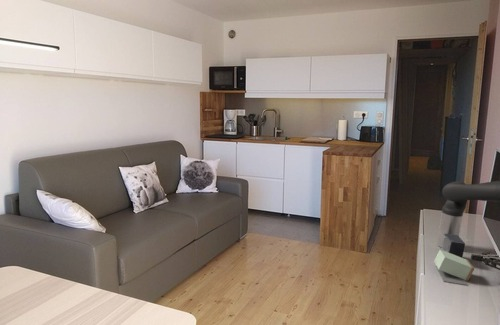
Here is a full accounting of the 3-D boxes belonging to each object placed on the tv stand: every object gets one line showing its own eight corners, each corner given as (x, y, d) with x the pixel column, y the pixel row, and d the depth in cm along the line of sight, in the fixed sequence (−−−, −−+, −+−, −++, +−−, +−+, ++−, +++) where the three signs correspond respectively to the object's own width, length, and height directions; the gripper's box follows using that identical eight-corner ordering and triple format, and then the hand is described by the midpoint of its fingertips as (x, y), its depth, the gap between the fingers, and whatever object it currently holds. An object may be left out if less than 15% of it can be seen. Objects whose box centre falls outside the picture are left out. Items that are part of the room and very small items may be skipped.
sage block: (461, 272, 164) (434, 261, 166) (468, 260, 163) (440, 249, 165) (467, 281, 157) (438, 269, 159) (474, 268, 155) (444, 257, 157)
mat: (435, 266, 168) (435, 265, 168) (457, 269, 167) (457, 269, 166) (443, 281, 155) (443, 280, 155) (467, 285, 153) (468, 284, 153)
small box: (462, 265, 171) (466, 243, 169) (446, 263, 173) (450, 241, 170) (454, 255, 182) (458, 234, 179) (440, 253, 183) (443, 232, 181)
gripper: (513, 248, 160) (468, 242, 164) (527, 262, 148) (478, 255, 151) (509, 265, 162) (464, 258, 166) (523, 280, 149) (475, 272, 153)
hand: (471, 257), depth 159 cm, fingers closed
